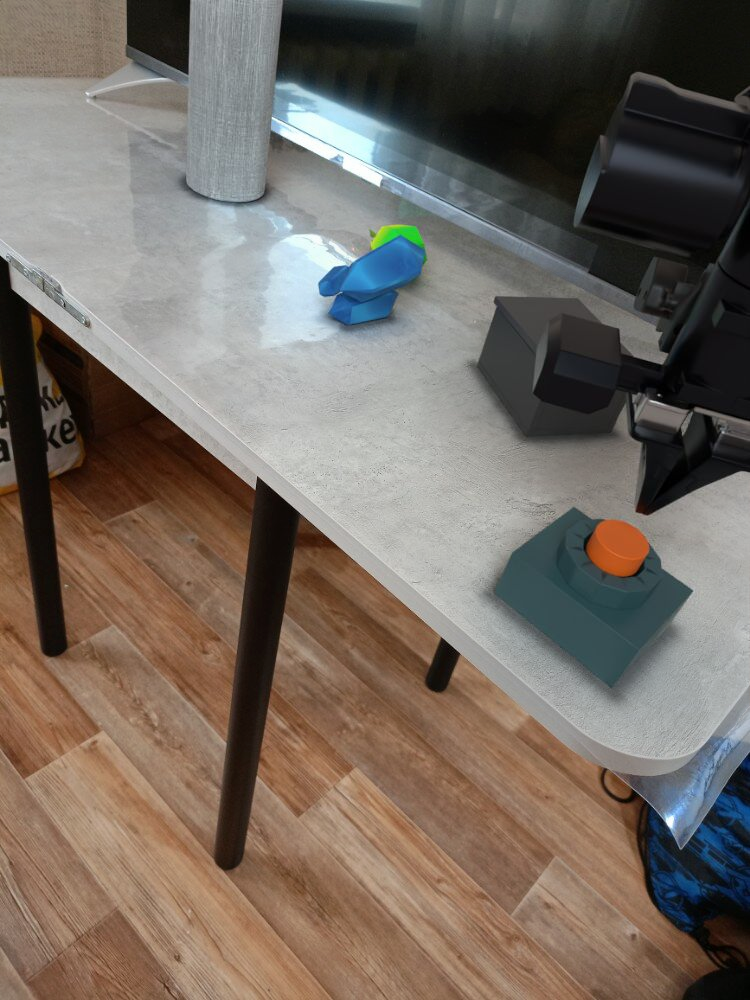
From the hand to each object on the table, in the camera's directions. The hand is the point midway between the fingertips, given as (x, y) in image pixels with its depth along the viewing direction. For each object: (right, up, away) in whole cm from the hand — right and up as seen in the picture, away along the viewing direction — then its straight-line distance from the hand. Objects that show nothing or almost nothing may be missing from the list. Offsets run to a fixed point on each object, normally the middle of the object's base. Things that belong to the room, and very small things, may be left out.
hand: (640, 509), depth 47 cm
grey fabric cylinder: (-36, +41, +50) cm, 74 cm away
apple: (-15, +27, +41) cm, 52 cm away
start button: (-1, -3, +3) cm, 4 cm away
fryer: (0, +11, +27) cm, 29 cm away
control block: (-2, -7, +7) cm, 10 cm away
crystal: (-18, +20, +32) cm, 42 cm away
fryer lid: (+1, +16, +23) cm, 28 cm away
